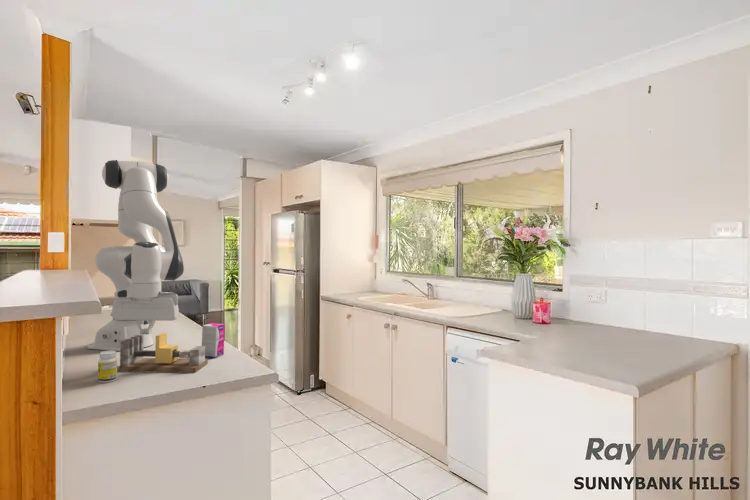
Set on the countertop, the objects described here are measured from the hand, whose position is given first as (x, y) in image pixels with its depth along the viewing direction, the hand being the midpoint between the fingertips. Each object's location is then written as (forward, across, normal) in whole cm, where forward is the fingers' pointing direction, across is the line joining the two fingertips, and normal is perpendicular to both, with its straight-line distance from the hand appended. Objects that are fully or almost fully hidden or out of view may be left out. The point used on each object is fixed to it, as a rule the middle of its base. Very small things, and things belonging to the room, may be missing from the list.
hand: (145, 334), depth 137 cm
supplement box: (+11, -16, -16) cm, 25 cm away
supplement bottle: (+11, +4, +13) cm, 18 cm away
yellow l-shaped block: (+9, -7, -1) cm, 11 cm away
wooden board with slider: (+11, -6, -1) cm, 12 cm away
